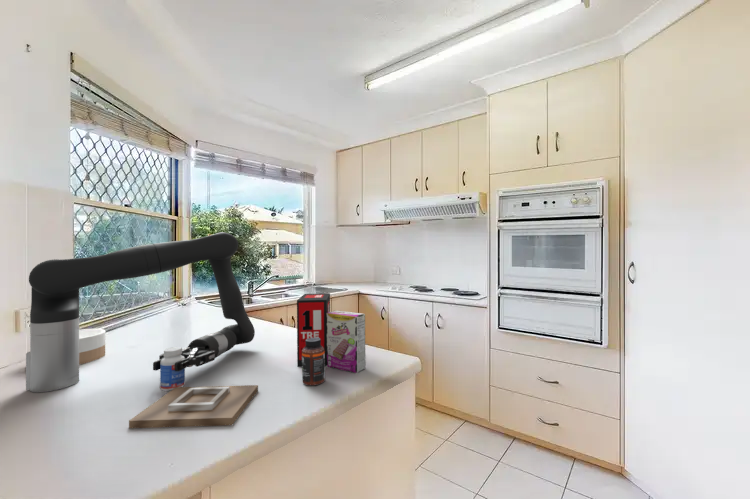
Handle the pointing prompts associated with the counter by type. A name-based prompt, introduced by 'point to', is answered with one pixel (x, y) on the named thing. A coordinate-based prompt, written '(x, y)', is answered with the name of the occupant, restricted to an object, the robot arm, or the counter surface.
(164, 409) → the walnut board
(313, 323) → the cleaning product box
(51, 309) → the robot arm
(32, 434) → the counter surface
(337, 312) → the candy bar box
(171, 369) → the pill bottle
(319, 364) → the supplement bottle
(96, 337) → the bowl
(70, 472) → the counter surface
